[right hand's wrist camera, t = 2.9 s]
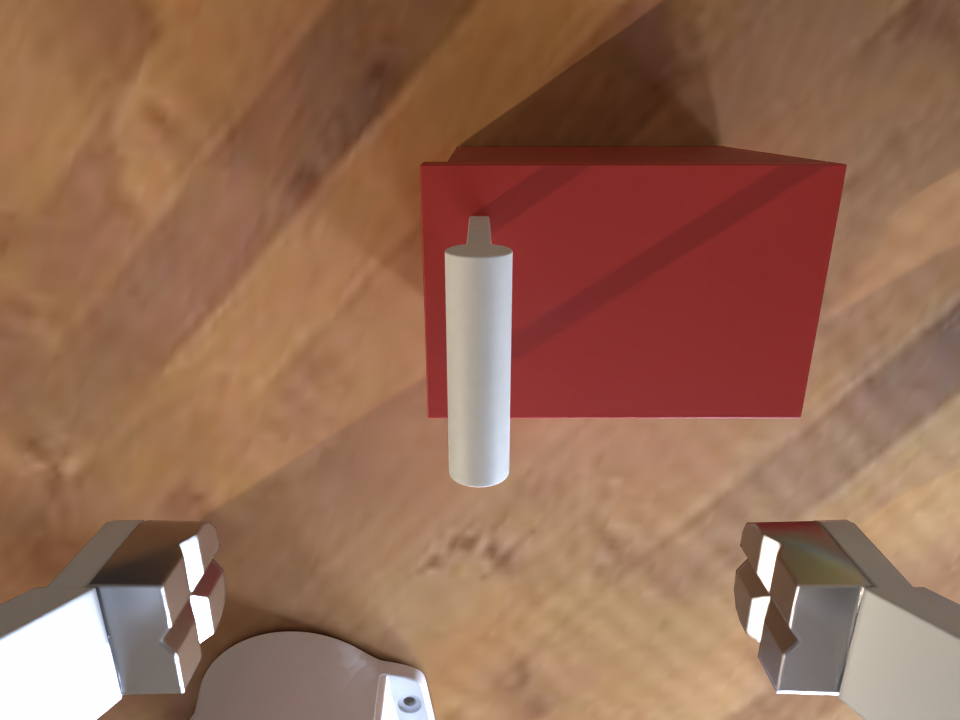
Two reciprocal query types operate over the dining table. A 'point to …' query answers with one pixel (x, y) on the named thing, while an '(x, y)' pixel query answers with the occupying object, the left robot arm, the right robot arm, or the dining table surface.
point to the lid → (618, 293)
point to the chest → (616, 154)
